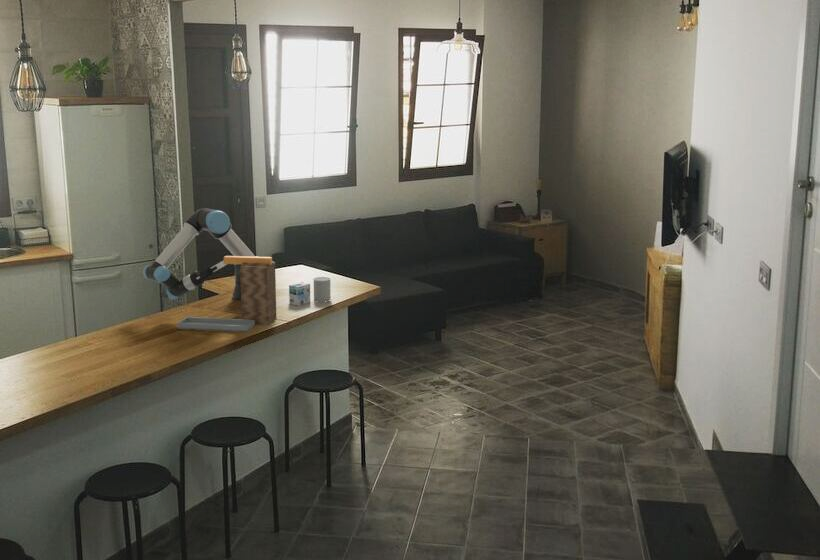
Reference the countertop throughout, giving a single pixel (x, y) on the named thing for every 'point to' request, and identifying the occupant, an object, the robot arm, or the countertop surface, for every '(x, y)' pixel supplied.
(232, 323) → the tray
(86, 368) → the countertop surface
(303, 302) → the light bulb box
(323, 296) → the grey cylinder
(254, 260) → the pin
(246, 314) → the brown zigzag tall box
